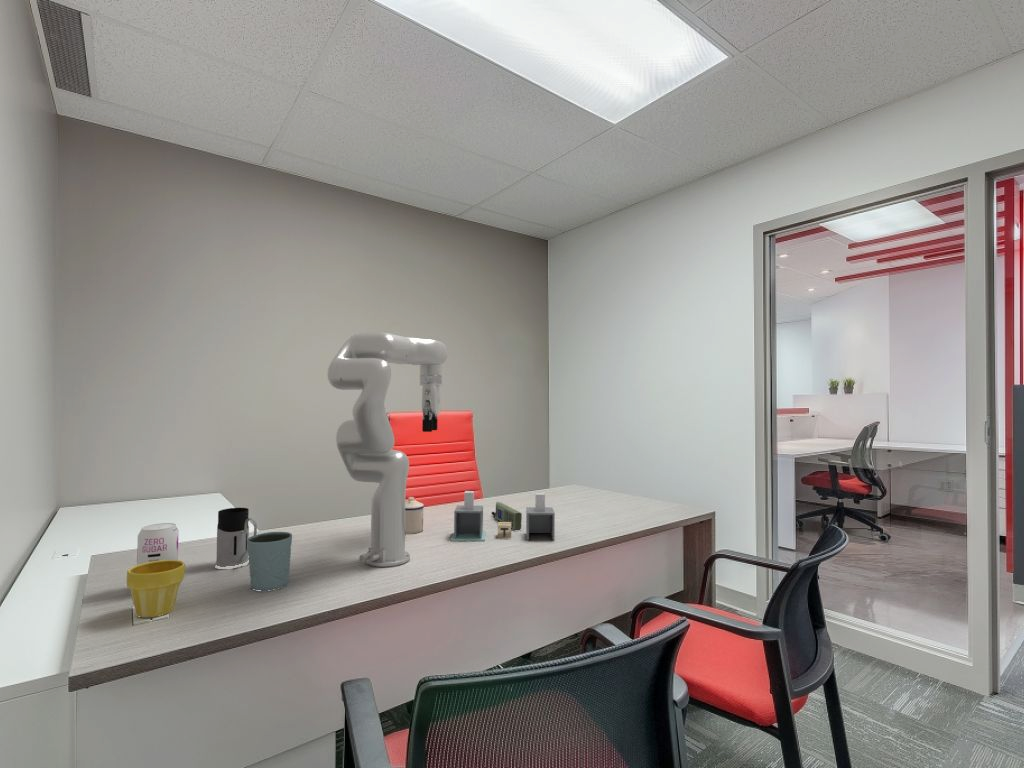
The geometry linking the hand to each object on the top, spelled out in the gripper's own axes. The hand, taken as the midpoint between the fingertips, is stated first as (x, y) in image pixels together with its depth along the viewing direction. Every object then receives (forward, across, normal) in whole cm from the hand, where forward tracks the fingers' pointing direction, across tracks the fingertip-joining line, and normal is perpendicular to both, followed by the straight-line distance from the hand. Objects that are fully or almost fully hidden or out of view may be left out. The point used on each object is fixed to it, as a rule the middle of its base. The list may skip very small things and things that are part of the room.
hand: (430, 430), depth 177 cm
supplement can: (+36, -52, +56) cm, 85 cm away
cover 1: (+35, -2, -14) cm, 38 cm away
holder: (+36, -35, +46) cm, 68 cm away
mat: (+35, -1, -14) cm, 38 cm away
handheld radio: (+36, +19, -25) cm, 47 cm away
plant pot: (+36, -65, +47) cm, 88 cm away
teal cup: (+36, -49, +30) cm, 68 cm away
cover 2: (+35, -1, -38) cm, 52 cm away
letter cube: (+35, -1, -26) cm, 44 cm away
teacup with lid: (+36, +6, +8) cm, 37 cm away
